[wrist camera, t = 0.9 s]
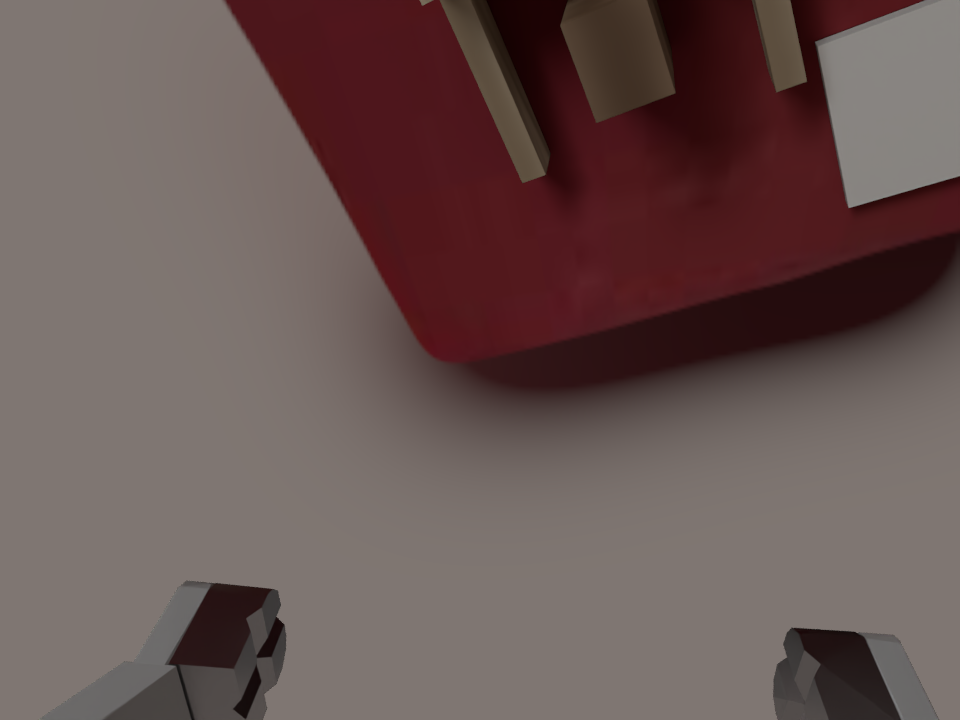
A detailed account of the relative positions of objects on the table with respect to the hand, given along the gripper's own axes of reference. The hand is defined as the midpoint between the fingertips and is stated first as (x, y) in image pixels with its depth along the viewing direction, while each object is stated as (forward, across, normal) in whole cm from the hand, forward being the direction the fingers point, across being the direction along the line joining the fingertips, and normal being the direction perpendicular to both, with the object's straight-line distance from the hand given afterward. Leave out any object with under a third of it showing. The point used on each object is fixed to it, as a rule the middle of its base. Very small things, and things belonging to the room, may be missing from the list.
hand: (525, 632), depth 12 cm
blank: (+37, -4, -6) cm, 37 cm away
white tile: (+36, -20, -3) cm, 42 cm away
